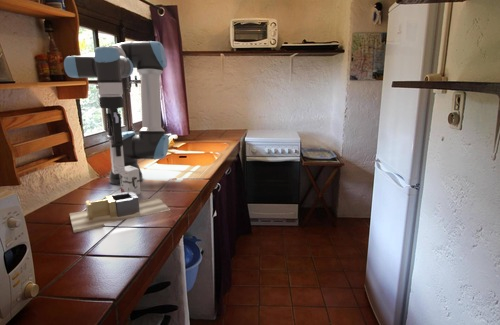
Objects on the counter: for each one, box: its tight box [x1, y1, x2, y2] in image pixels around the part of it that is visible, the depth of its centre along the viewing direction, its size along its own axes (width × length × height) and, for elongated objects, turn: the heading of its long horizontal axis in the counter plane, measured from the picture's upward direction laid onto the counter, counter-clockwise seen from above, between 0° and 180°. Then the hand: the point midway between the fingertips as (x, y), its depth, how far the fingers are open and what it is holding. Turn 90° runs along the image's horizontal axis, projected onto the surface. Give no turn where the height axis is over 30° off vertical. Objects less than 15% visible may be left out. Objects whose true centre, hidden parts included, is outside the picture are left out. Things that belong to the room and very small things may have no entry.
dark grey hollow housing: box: [111, 192, 140, 217], centre depth 123 cm, size 10×8×6 cm
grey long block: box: [106, 134, 125, 174], centre depth 118 cm, size 5×5×13 cm
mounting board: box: [69, 197, 171, 233], centre depth 123 cm, size 16×32×1 cm, turn 121°
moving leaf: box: [85, 194, 117, 220], centre depth 119 cm, size 8×9×5 cm
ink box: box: [119, 166, 141, 196], centre depth 142 cm, size 9×5×12 cm, turn 47°
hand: (117, 163), depth 119 cm, fingers closed on grey long block, 4 cm apart
